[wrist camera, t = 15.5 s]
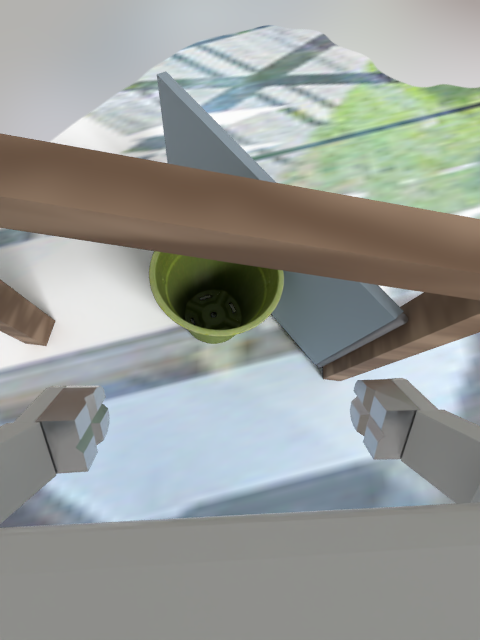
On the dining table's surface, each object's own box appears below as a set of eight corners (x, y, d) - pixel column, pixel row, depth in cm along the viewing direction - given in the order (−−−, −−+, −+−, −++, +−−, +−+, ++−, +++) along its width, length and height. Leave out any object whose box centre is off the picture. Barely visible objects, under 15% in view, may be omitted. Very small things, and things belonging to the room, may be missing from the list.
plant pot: (143, 322, 34) (118, 275, 23) (207, 260, 38) (210, 196, 28) (220, 385, 32) (229, 364, 22) (278, 313, 37) (308, 266, 26)
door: (319, 369, 34) (402, 326, 20) (172, 198, 40) (156, 74, 26) (336, 354, 35) (426, 303, 21) (189, 189, 41) (184, 66, 27)
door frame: (340, 381, 34) (593, 291, 12) (25, 343, 31) (-401, 131, 9) (339, 357, 36) (570, 235, 13) (35, 318, 32) (-323, 75, 10)
